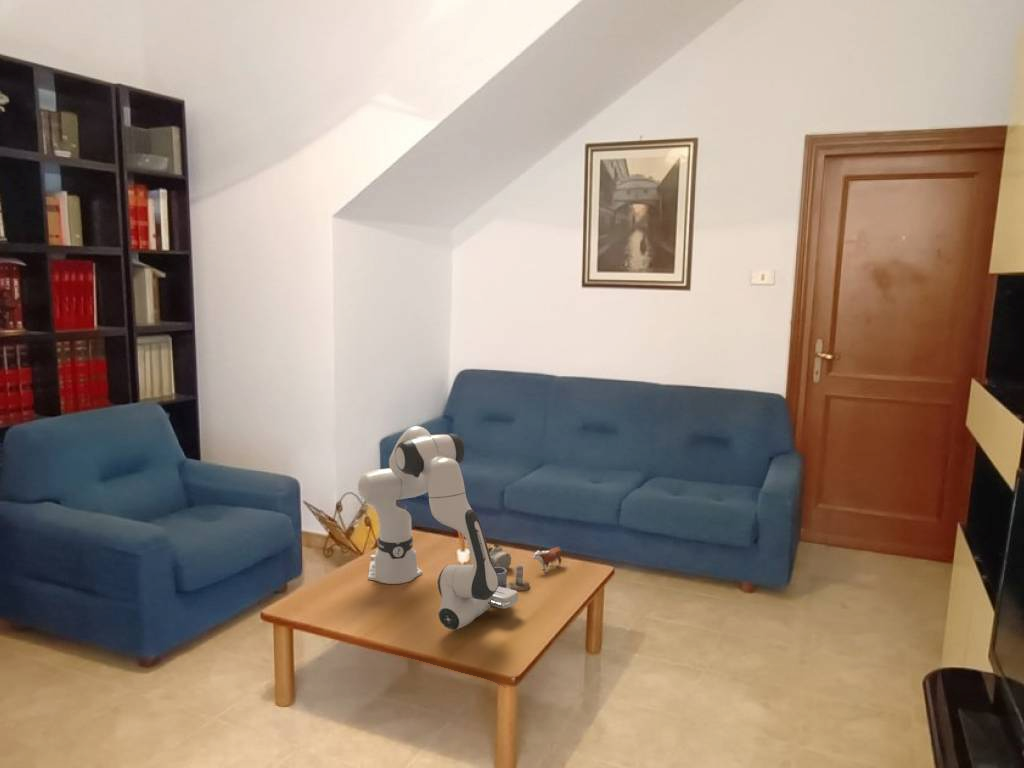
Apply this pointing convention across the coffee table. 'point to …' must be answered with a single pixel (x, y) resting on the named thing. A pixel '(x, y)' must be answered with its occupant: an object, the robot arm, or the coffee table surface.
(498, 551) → the ceramic sculpture
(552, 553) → the bull figurine
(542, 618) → the coffee table surface
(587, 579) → the coffee table surface
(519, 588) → the pin stand
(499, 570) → the sleeve
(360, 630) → the coffee table surface
